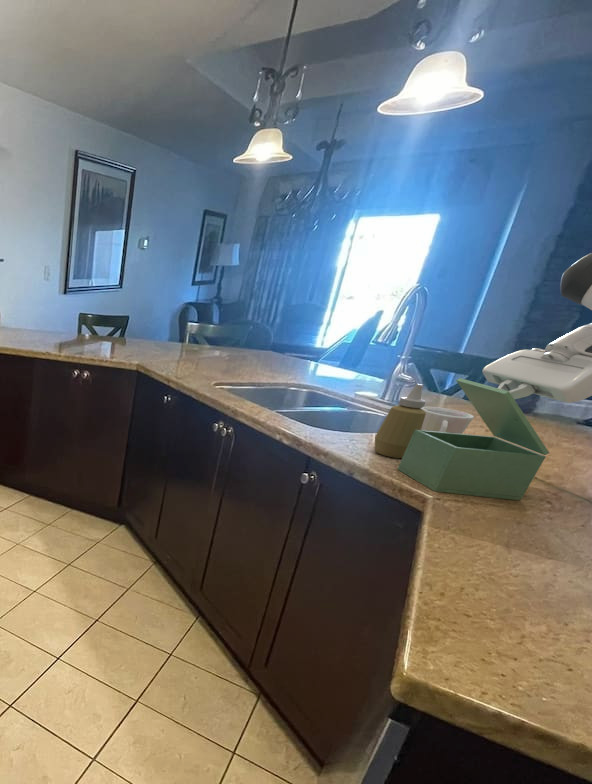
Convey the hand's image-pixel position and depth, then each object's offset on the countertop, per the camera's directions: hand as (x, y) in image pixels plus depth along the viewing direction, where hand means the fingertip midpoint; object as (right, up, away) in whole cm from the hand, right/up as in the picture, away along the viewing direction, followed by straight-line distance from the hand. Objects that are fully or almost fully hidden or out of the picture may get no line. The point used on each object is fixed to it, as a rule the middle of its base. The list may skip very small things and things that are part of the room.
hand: (494, 400), depth 100 cm
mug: (+15, -9, +29) cm, 34 cm away
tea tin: (0, -17, +7) cm, 19 cm away
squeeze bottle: (0, -10, +24) cm, 26 cm away
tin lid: (+2, -3, +1) cm, 4 cm away
